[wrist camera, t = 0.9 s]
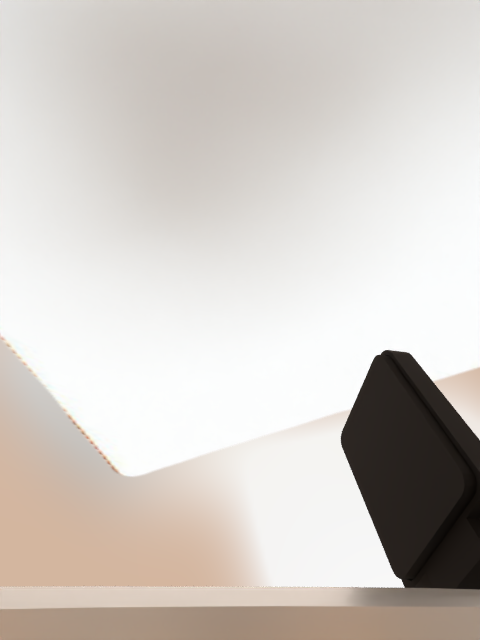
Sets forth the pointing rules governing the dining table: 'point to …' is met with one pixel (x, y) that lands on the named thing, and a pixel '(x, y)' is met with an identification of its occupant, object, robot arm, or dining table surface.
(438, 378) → the dining table surface
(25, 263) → the dining table surface
